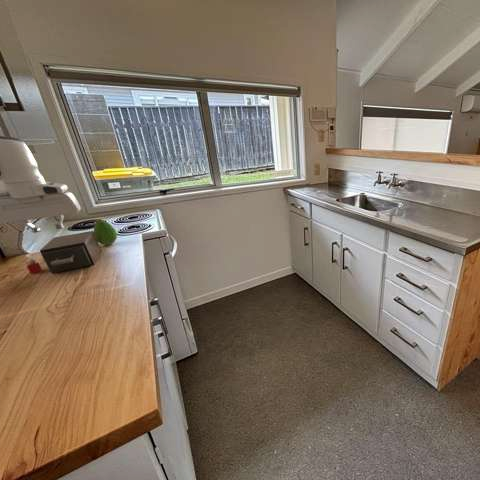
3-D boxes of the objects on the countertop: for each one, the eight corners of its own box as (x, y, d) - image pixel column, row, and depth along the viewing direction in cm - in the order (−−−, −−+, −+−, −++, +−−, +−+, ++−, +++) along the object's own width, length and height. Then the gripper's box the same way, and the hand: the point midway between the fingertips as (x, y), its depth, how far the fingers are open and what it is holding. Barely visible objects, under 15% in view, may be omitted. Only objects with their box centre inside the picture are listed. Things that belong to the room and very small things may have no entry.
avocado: (103, 249, 114) (92, 223, 109) (95, 246, 118) (85, 221, 113) (123, 242, 120) (114, 218, 115) (115, 239, 124) (106, 216, 119)
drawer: (87, 270, 94) (78, 251, 91) (46, 279, 89) (35, 259, 86) (98, 251, 109) (90, 235, 106) (63, 258, 104) (54, 241, 101)
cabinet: (94, 264, 100) (84, 242, 96) (51, 273, 95) (39, 250, 91) (101, 251, 112) (93, 230, 108) (64, 258, 106) (53, 237, 103)
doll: (30, 274, 95) (23, 261, 93) (33, 271, 97) (26, 258, 95) (40, 272, 96) (33, 259, 94) (42, 269, 98) (35, 257, 96)
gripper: (-24, 196, 75) (1, 240, 80) (66, 187, 84) (84, 226, 89) (-12, 193, 80) (11, 233, 86) (72, 184, 89) (88, 221, 94)
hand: (49, 230), depth 88 cm, fingers open, 5 cm apart
